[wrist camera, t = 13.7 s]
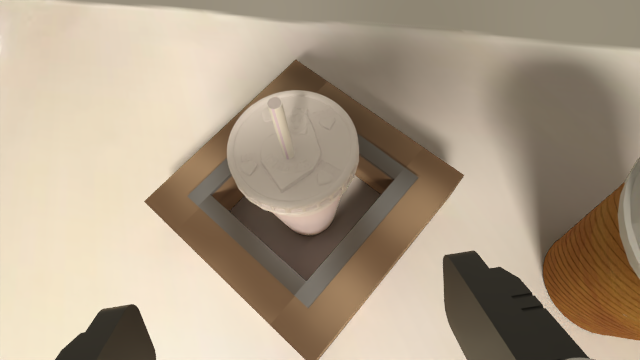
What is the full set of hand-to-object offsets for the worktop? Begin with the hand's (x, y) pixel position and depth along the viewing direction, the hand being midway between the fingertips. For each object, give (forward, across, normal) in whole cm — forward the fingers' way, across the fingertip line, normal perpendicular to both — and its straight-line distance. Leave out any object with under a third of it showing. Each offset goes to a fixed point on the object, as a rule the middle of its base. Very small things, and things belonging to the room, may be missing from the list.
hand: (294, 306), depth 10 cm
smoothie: (+17, 0, +6) cm, 18 cm away
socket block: (+17, 0, +5) cm, 17 cm away
